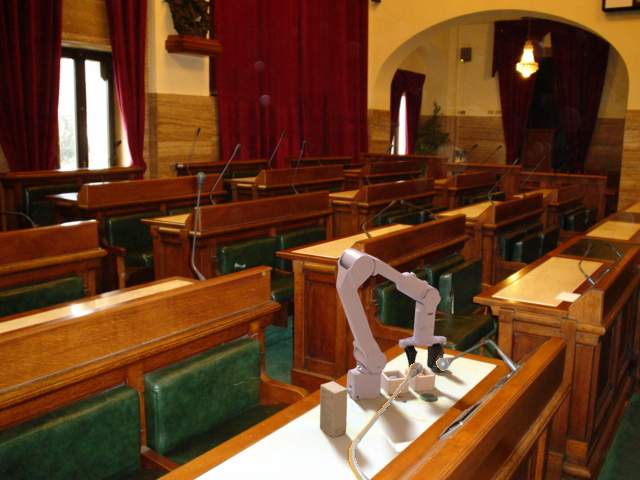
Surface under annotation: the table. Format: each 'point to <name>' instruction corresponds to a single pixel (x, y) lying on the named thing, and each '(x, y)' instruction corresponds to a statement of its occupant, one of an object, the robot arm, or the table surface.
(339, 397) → the skincare box
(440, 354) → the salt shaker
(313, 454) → the table surface
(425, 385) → the beige open box
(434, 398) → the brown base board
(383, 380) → the open square box
